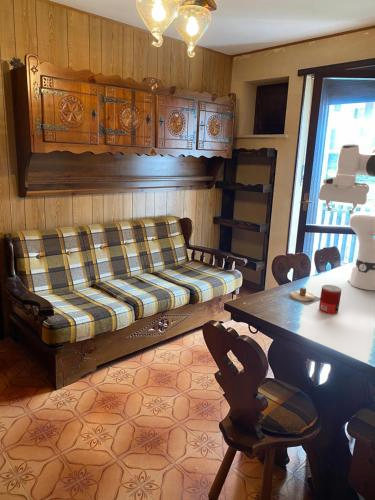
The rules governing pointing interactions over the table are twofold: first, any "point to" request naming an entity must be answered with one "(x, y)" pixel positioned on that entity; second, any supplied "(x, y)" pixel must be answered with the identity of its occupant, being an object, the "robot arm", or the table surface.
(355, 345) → the table surface
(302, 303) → the mat
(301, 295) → the lid
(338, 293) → the canned food
